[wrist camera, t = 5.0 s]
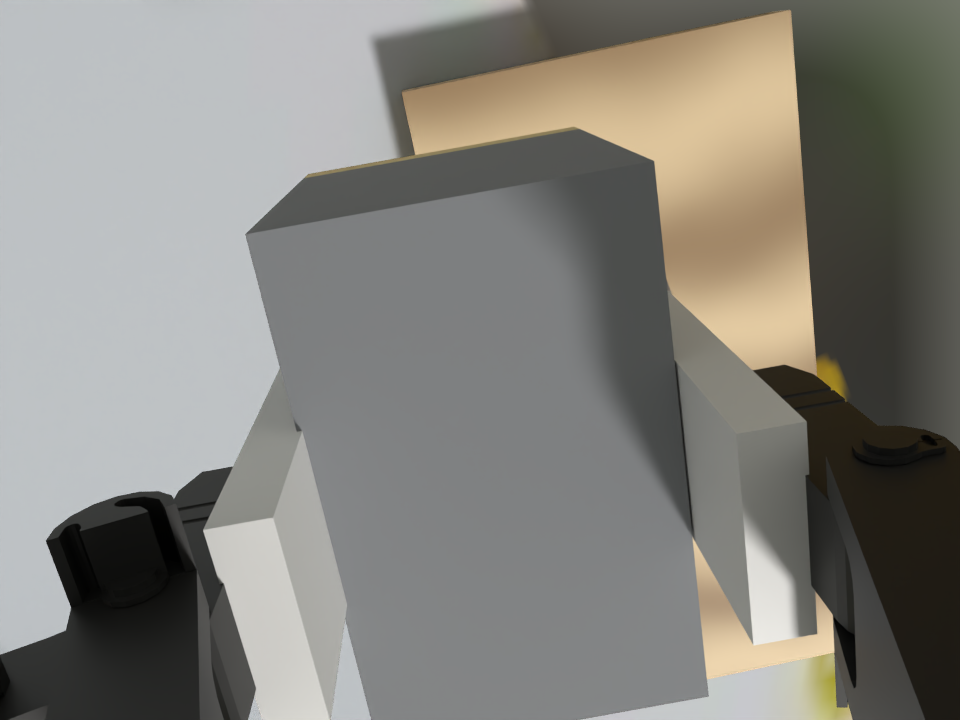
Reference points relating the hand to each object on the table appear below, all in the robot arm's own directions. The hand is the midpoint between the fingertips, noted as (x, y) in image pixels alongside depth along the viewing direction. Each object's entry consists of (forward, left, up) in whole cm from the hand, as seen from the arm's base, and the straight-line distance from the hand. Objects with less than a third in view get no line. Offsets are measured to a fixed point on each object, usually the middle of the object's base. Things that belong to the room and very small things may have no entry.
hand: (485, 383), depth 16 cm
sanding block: (0, 0, -2) cm, 2 cm away
